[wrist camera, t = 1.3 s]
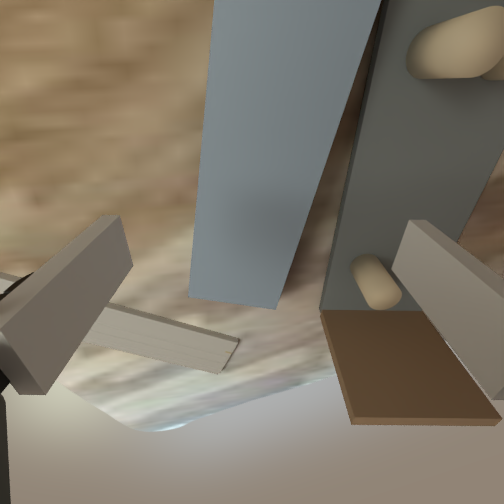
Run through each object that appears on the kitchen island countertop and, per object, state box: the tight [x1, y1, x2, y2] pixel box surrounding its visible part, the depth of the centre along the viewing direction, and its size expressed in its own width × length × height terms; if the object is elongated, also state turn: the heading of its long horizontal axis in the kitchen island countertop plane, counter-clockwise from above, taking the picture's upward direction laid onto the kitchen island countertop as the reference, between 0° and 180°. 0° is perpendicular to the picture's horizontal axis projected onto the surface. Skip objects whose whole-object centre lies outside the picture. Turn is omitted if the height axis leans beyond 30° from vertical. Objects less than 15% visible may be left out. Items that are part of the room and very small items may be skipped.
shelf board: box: [188, 0, 381, 310], centre depth 22 cm, size 9×26×4 cm, turn 169°
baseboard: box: [0, 272, 238, 374], centre depth 34 cm, size 30×3×10 cm
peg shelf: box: [319, 0, 504, 426], centre depth 18 cm, size 12×33×13 cm, turn 179°
